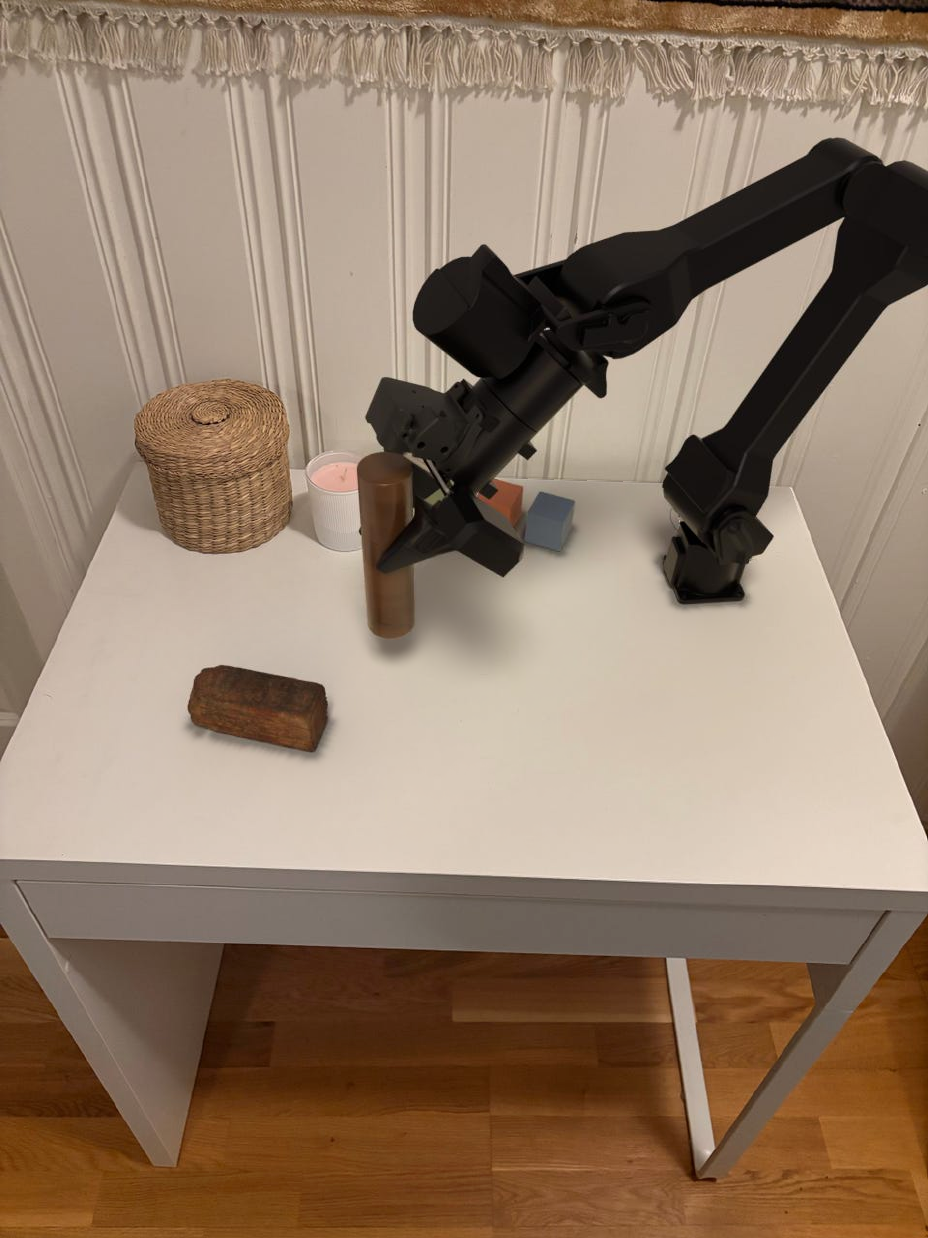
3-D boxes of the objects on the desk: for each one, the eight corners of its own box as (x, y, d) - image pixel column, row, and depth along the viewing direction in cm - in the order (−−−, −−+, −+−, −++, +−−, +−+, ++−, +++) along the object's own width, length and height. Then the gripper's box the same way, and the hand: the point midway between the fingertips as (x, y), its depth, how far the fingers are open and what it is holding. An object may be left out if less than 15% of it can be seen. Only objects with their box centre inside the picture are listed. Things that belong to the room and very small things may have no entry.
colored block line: (571, 529, 95) (575, 500, 93) (559, 551, 93) (563, 522, 90) (439, 492, 99) (439, 463, 96) (424, 512, 97) (424, 483, 94)
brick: (330, 717, 78) (326, 681, 74) (314, 755, 75) (309, 719, 71) (212, 693, 79) (202, 656, 76) (192, 729, 76) (181, 692, 73)
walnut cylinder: (405, 600, 80) (401, 446, 68) (421, 632, 77) (420, 478, 66) (361, 611, 79) (349, 457, 67) (375, 644, 76) (366, 489, 65)
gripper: (392, 283, 67) (261, 439, 72) (490, 422, 55) (326, 597, 60) (487, 361, 75) (363, 497, 80) (591, 498, 63) (438, 648, 68)
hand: (371, 552), depth 72 cm, fingers closed on walnut cylinder, 4 cm apart
